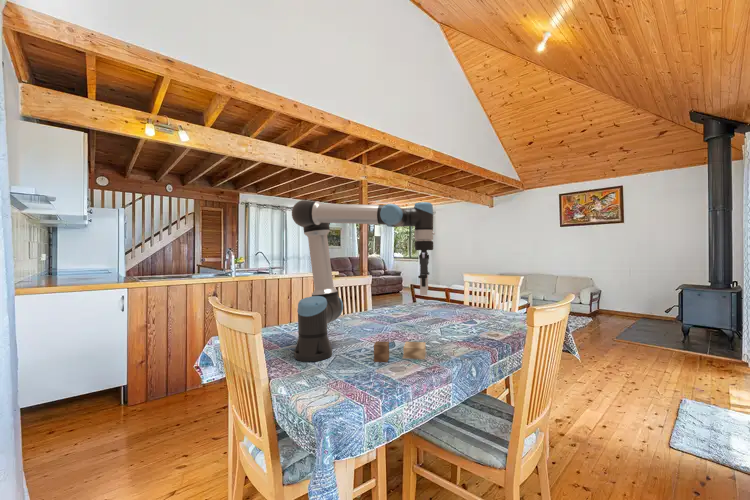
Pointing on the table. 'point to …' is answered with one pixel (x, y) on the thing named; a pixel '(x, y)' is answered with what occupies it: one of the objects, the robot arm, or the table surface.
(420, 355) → the maple base
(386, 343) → the walnut block
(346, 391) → the table surface
